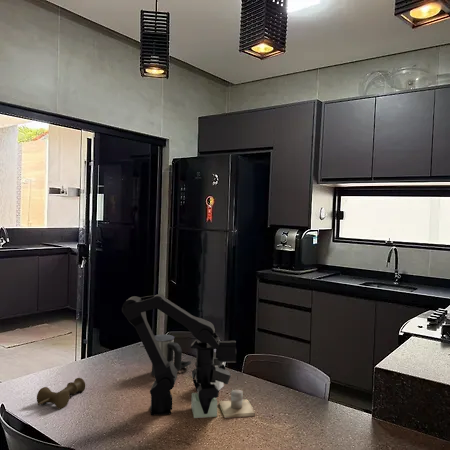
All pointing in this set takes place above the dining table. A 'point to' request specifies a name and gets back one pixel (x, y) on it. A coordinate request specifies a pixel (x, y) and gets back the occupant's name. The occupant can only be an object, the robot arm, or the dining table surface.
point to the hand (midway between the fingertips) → (204, 408)
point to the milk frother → (170, 351)
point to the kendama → (60, 393)
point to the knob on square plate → (236, 406)
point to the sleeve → (198, 409)
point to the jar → (216, 363)
